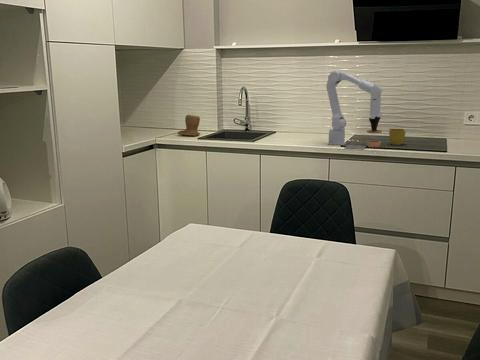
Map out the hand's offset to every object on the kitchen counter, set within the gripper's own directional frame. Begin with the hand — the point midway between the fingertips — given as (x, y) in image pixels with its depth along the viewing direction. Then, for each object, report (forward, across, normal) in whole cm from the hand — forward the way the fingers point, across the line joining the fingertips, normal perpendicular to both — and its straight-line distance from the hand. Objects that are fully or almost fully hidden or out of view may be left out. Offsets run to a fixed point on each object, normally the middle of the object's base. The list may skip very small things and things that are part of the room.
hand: (374, 129), depth 284 cm
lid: (+1, 0, 0) cm, 1 cm away
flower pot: (+10, +11, -12) cm, 19 cm away
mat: (+10, -8, +9) cm, 15 cm away
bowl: (+10, 0, 0) cm, 10 cm away
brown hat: (+10, +6, +129) cm, 130 cm away
